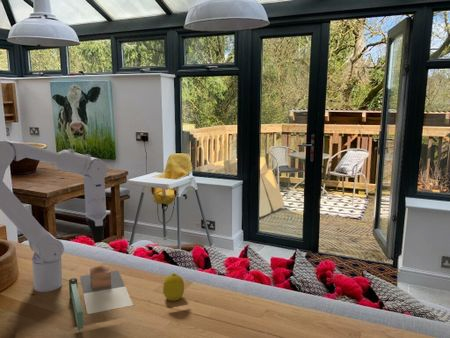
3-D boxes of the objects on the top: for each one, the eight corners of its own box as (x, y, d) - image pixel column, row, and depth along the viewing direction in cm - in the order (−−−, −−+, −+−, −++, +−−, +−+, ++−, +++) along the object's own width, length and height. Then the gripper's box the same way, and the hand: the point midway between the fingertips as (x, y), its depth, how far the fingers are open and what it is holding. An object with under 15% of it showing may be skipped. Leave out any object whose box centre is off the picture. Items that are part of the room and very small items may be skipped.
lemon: (184, 296, 103) (185, 269, 101) (183, 307, 97) (183, 278, 96) (164, 296, 102) (164, 268, 101) (161, 307, 97) (161, 278, 96)
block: (90, 281, 108) (90, 267, 108) (108, 278, 110) (108, 265, 110) (92, 288, 104) (92, 275, 103) (111, 285, 106) (110, 272, 105)
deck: (80, 279, 111) (80, 276, 111) (118, 273, 116) (118, 270, 116) (87, 317, 91) (87, 314, 91) (133, 308, 96) (133, 305, 96)
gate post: (69, 300, 99) (68, 279, 98) (77, 299, 100) (76, 277, 99) (70, 304, 97) (69, 282, 96) (78, 302, 98) (77, 280, 97)
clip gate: (76, 297, 98) (76, 283, 97) (83, 328, 84) (82, 311, 84) (71, 298, 97) (71, 284, 96) (77, 329, 84) (77, 312, 83)
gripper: (112, 202, 106) (115, 248, 108) (106, 191, 119) (108, 232, 121) (86, 205, 103) (89, 252, 105) (82, 193, 116) (85, 235, 118)
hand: (97, 242), depth 113 cm, fingers closed
